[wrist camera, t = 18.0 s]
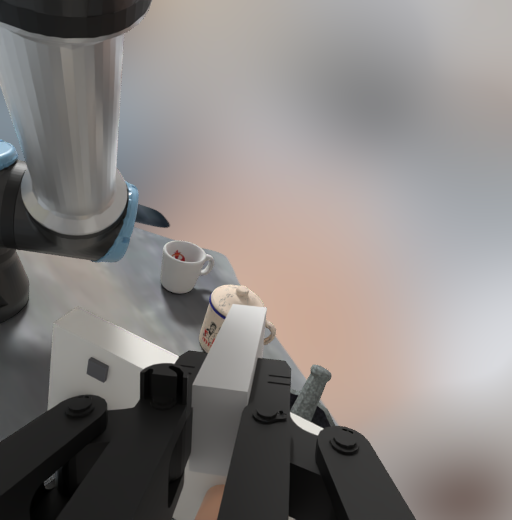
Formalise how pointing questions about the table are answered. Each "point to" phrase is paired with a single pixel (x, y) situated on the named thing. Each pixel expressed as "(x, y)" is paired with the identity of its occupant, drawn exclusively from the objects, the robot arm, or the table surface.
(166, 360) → the button panel
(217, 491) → the terracotta button
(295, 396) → the mortar and pestle
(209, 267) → the cup
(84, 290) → the table surface
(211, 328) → the teacup with lid
